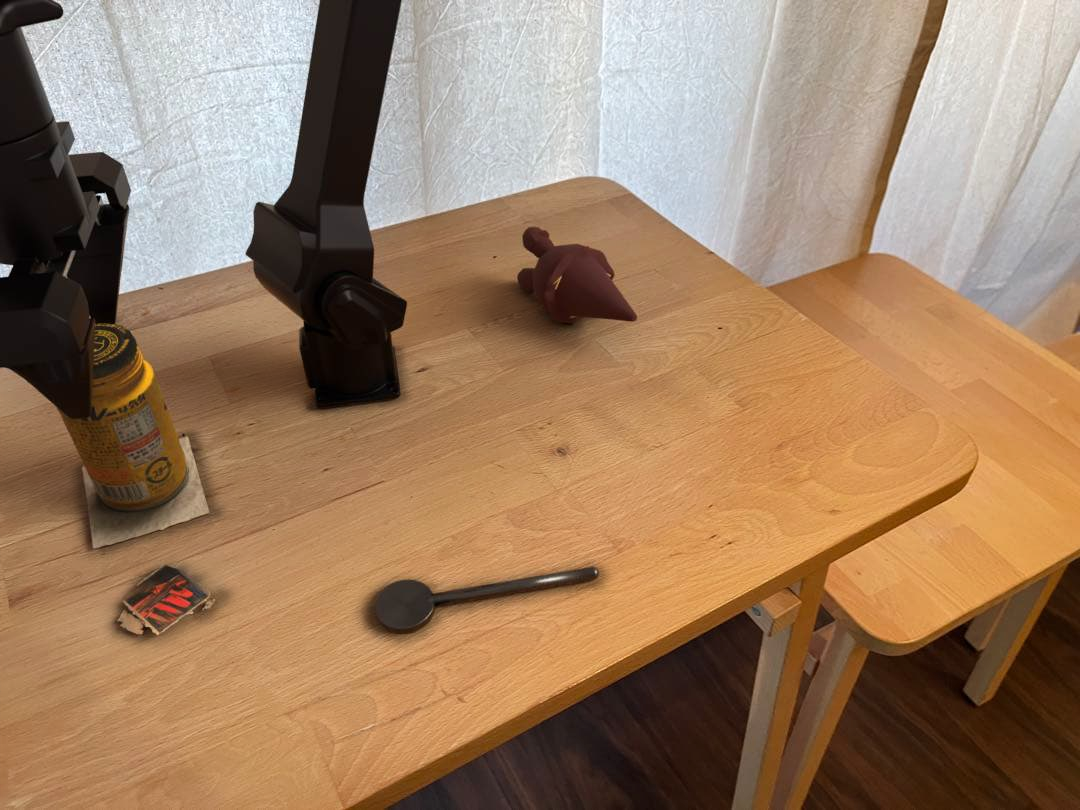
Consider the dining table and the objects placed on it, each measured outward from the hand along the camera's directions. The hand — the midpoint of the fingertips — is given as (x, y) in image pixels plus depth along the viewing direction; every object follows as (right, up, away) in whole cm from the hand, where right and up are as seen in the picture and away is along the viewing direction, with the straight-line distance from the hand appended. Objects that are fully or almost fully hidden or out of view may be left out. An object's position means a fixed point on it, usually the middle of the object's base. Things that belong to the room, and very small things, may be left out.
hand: (94, 368), depth 54 cm
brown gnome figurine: (+31, +5, +22) cm, 38 cm away
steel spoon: (+24, -14, 0) cm, 28 cm away
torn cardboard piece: (+5, -14, -1) cm, 15 cm away
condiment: (0, -8, +7) cm, 11 cm away
